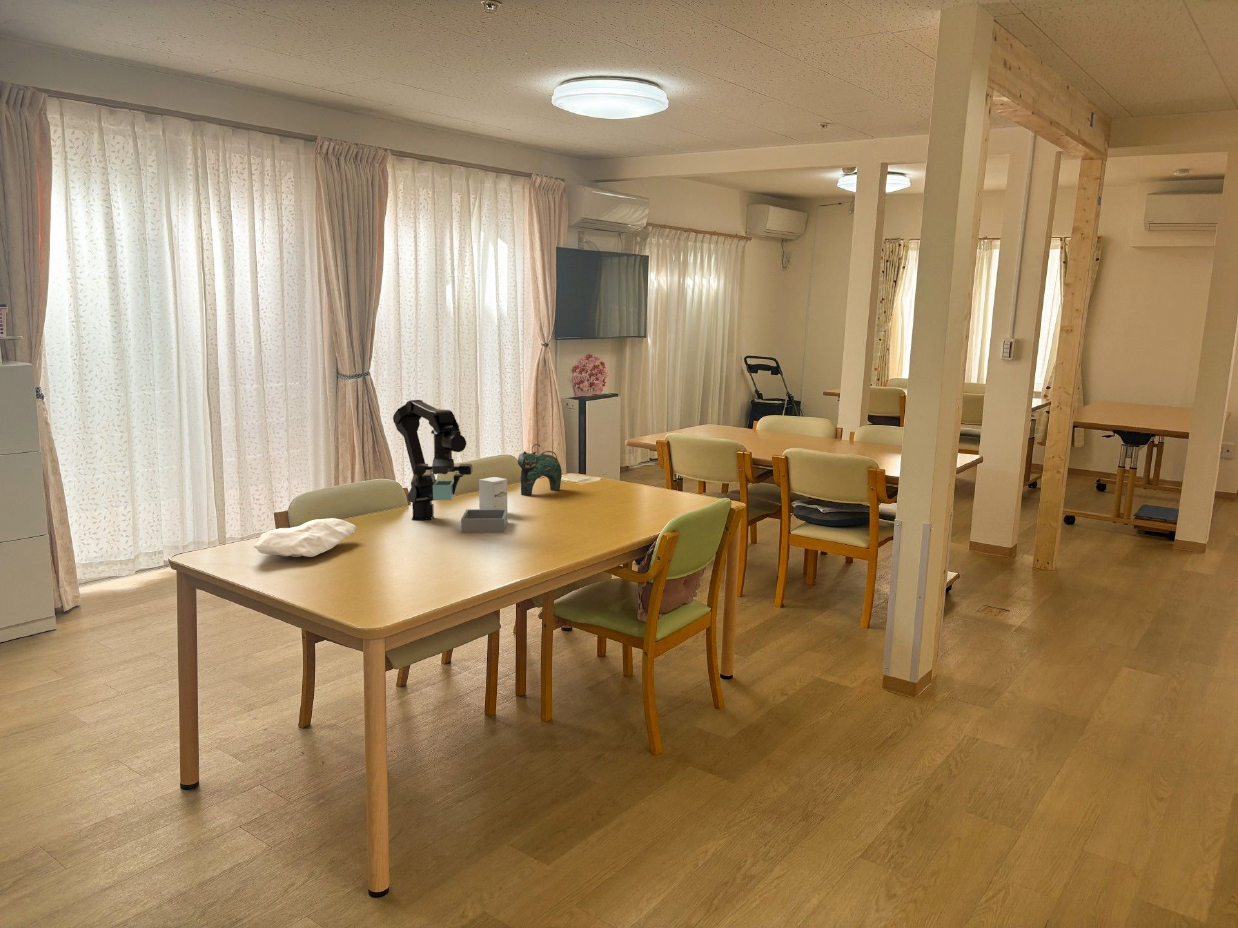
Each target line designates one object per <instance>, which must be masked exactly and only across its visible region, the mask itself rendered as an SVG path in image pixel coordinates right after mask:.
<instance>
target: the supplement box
mask: <svg viewBox="0 0 1238 928" xmlns="http://www.w3.org/2000/svg"><path fill="white" fill-rule="evenodd" d="M478 502H479V504H478V506H479V508H478V509H507V510H508V478H503V477H496V476H492V477H486V478H481V479H478Z"/></svg>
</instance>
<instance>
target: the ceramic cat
mask: <svg viewBox="0 0 1238 928" xmlns="http://www.w3.org/2000/svg"><path fill="white" fill-rule="evenodd" d="M535 446H538V447H539V448H540V447H541V445H540V444H538V443H535V444H533V445H532V447H531V452H526V450H524V451H523V452H521V453H520V454H519V455H518V458H517V464H518V467H519V468H520V469H521V472H520V495H521V496H524V497H529V496H532V494H533V489H534V485H535V483H536V481H537V480H538V478H541V477H546V478H547V479H548V481H549V482H548V483H549V489H550V491H553V492H558V491H560V490H561V483H562V476H563V473H562V467H561V464H560V462H559V459H558V456H557V454H556V453H555V452H554V451H551V450H546V451H543V452H542V453H541V452H540V453H539V454H538V453H537V451H534V450H533V449H534V447H535ZM536 453H537V454H536ZM547 453H552V454H554V455H552V454H547Z"/></svg>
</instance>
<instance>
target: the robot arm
mask: <svg viewBox="0 0 1238 928" xmlns="http://www.w3.org/2000/svg"><path fill="white" fill-rule="evenodd" d="M422 418H423V419H425V420H427V421H428V425H429V426H430V427H431V428H432V430H431V431H430V434H431V435H433V453H434V455H433V456H434V457H433V459H432V465H431V466H430V465H429V463H426V460H425V458H424V453H423V450H422V446H421V442H420V441H421V440H420V439H419V434H418V431H419V427H420V425H421V424H420V423H421V422H420V420H421V419H422ZM392 421H393V423H394V425H395V428H396V431H398V433H400V435H402V436H403V439H404V440H403V441H404V444H405V447H406V452H407V455H408V458H409V463H410V467H411V471H412V475H413V476H412V479H411V481H410V486H411V487H410V489H409V491H408V493H407V496H406V497H407V501H408V502H409V503H411V504H412V517H411V520H412V521H415V520H416V521H417V520H418V521H419V520H420V521H421V520H422V521H423V520H424V521H425V520H428V521H429V520H431V519H432V518H433V517H434V516H435V515H434V514H435V510H434V509H435V506H434V503H433V501H434V500H433V484H434V483H435V482H436V481H437V480H436V477H435V475H448V473H454V475H453V481H454V482H453V495H454V494H455V495H456V489H457V487H458V484H459V481H460V479H461V478H462V477H464V476H465V475H466V476H470V475H472V474H473V464H471V463H460V464H459V465H455V460H454V458H453V452H455V453H461V452H463V451H464V450H465V449H466V446H467V440H466V438H465V436H463V435H461V434H462V433H461V430H460V424H459V423H458V422H457V419H456V415H454V413H453V411H452V410H449V409H440V408H439V409H438V408H436V407H435V406H432V405H430V404H428V403H425V402H424V401H423V400H421V399H411V400H408V401H406V403H405V404H404V405H402V406H401V407H399V408H397V409H396V411H395V412H394V414H393V416H392Z"/></svg>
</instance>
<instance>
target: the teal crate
mask: <svg viewBox="0 0 1238 928" xmlns="http://www.w3.org/2000/svg"><path fill="white" fill-rule="evenodd" d="M453 482H454V480H436V482H435V483H434V484H433V500H432V501H452V500H453V499H454V498H455V495H456V493H455V494H454V495H453Z"/></svg>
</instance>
